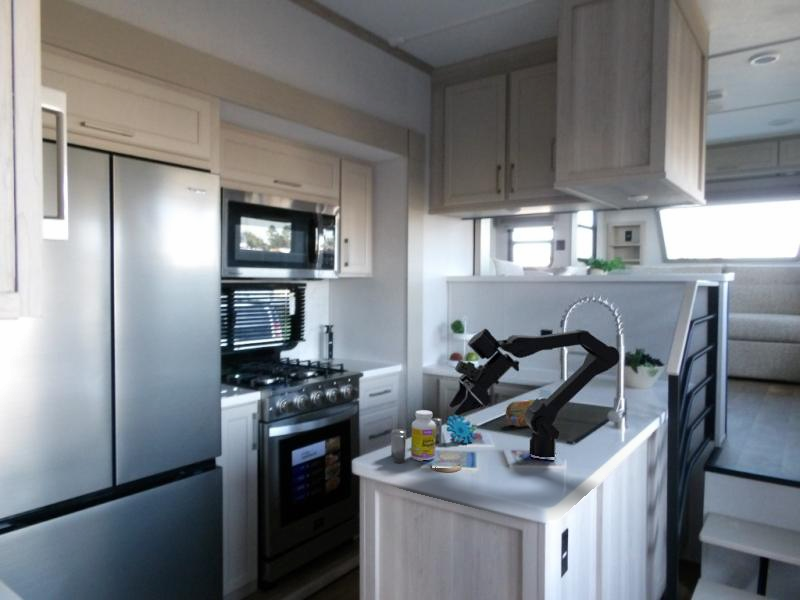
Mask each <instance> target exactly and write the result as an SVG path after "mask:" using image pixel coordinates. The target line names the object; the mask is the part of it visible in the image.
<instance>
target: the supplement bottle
mask: <svg viewBox="0 0 800 600" xmlns="http://www.w3.org/2000/svg"><path fill="white" fill-rule="evenodd" d="M414 414H415V420H414V421H412V423H411V441H410V443H411V445H410V446H411V447H410V448H411V449H410V457H411V459H413V460H415V461H418V462H419V461H420V462H424V461H423V460H425V459H431V458H434V457H435V458H436V443H435V432H436V425H435V423H434V421H432V419H433V412H432V411H431V410H424V409H421V410H416V411H415V413H414ZM435 458H434V459H435Z"/></svg>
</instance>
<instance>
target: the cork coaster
mask: <svg viewBox="0 0 800 600" xmlns="http://www.w3.org/2000/svg"><path fill="white" fill-rule="evenodd" d="M431 470H433V471H435V472H439V473H456V472H459V471H461V470H462V465H461V464H460V466H456V467H451V468H436V467H435V468H431Z"/></svg>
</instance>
